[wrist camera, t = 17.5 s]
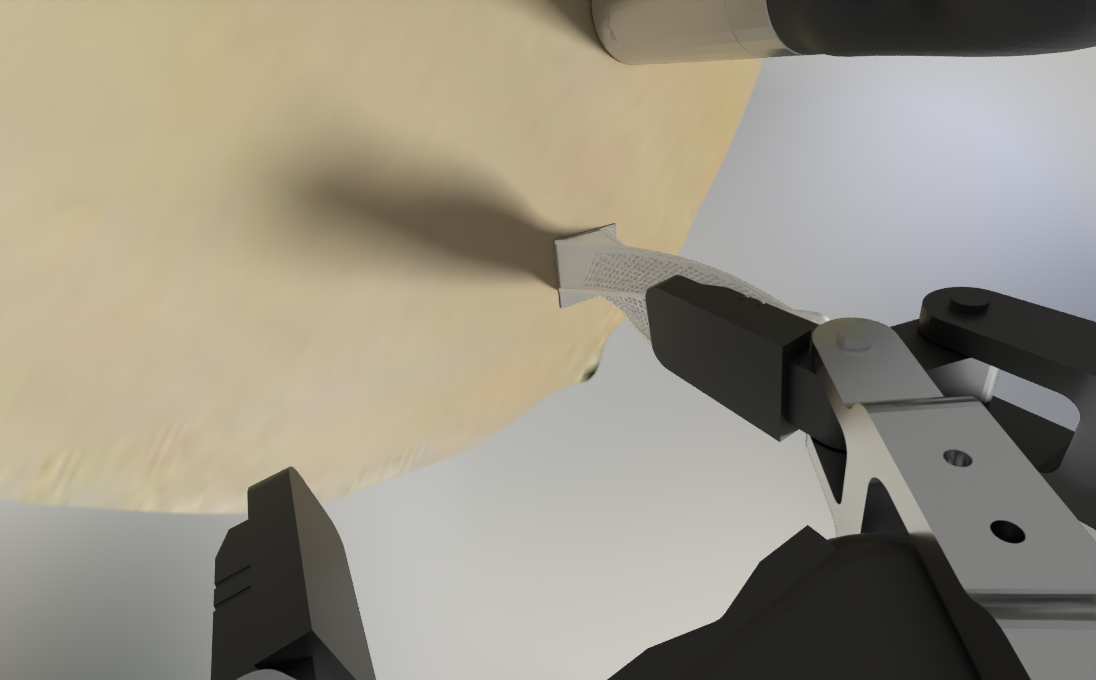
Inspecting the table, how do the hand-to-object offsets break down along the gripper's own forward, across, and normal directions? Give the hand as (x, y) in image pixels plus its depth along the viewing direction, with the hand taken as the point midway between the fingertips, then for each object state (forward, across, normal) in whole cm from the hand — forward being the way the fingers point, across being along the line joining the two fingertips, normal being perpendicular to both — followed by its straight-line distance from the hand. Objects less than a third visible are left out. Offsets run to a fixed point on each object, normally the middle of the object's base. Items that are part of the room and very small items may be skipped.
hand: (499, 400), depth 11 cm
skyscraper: (+34, -20, +15) cm, 42 cm away
